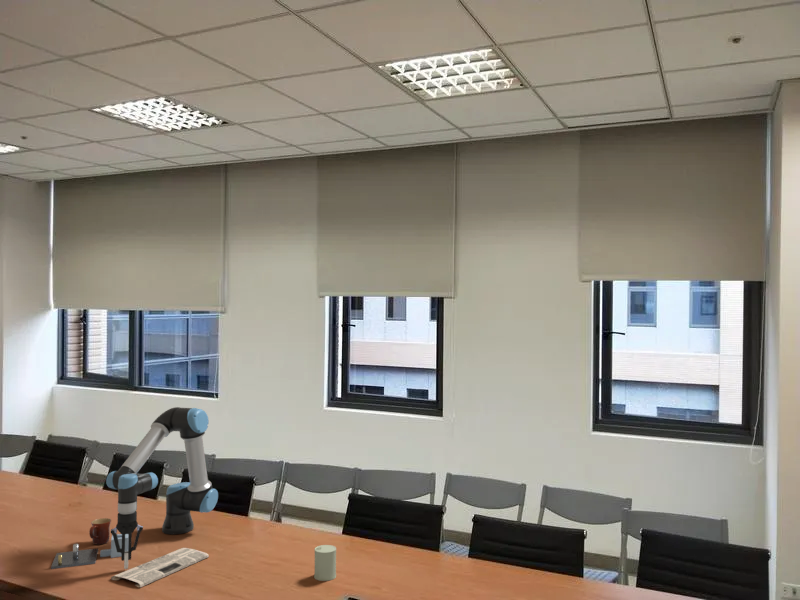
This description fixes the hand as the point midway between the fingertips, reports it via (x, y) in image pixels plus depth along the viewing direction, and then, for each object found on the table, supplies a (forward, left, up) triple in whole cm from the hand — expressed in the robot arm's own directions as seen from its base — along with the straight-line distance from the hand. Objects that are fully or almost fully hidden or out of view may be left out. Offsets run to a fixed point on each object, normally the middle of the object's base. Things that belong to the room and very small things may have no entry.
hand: (126, 567), depth 266 cm
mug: (+13, -40, -2) cm, 42 cm away
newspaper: (-14, +2, -2) cm, 14 cm away
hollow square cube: (+6, -22, -1) cm, 23 cm away
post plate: (+21, -22, -1) cm, 31 cm away
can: (-78, +36, -2) cm, 86 cm away
